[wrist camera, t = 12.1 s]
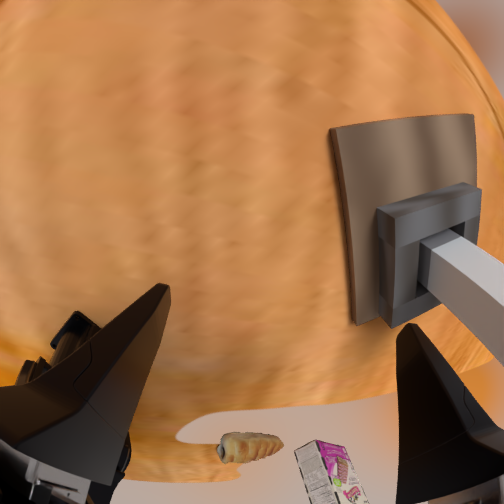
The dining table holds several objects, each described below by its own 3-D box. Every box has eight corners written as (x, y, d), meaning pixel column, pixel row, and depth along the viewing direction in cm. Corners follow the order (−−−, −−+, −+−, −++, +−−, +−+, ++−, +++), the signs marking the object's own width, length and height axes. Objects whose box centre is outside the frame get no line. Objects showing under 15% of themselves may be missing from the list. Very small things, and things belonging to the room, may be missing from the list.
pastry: (286, 428, 35) (293, 449, 31) (273, 446, 37) (278, 466, 34) (221, 430, 32) (224, 454, 29) (215, 449, 35) (217, 470, 32)
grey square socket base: (352, 319, 26) (368, 342, 23) (329, 128, 18) (353, 131, 15) (462, 268, 27) (480, 283, 24) (466, 113, 19) (492, 117, 16)
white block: (408, 272, 24) (507, 370, 11) (410, 235, 22) (528, 329, 10) (437, 259, 24) (534, 343, 12) (440, 223, 22) (552, 302, 10)
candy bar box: (345, 445, 42) (374, 512, 28) (324, 456, 43) (349, 522, 29) (316, 437, 38) (346, 520, 23) (292, 450, 39) (317, 530, 24)
